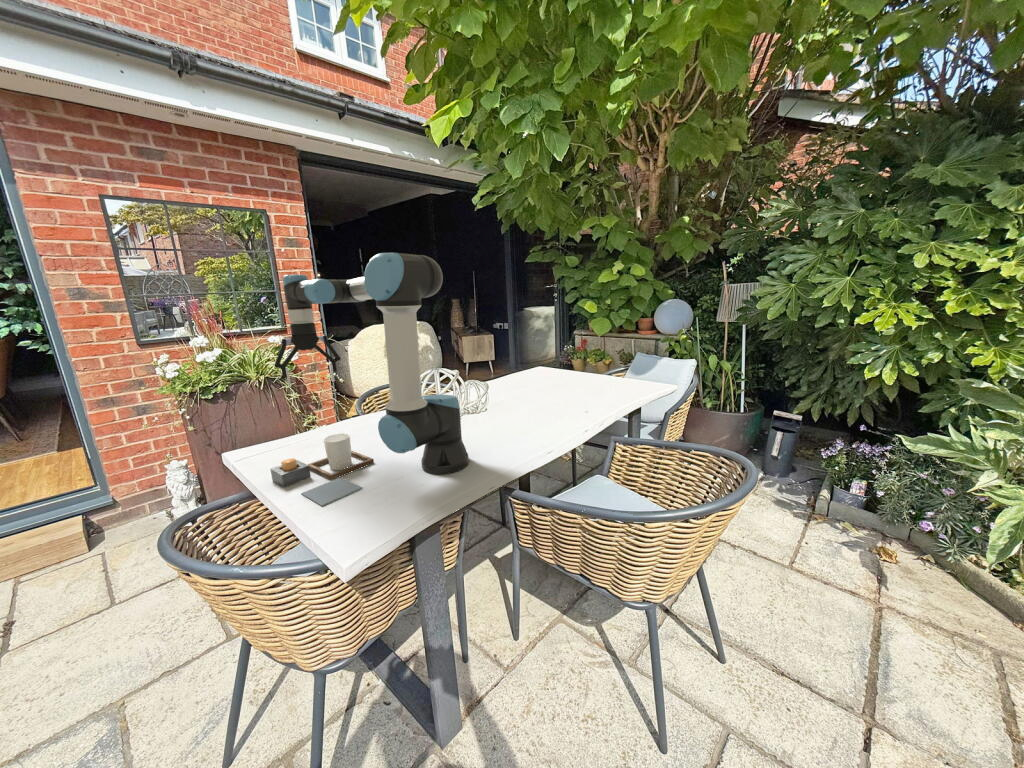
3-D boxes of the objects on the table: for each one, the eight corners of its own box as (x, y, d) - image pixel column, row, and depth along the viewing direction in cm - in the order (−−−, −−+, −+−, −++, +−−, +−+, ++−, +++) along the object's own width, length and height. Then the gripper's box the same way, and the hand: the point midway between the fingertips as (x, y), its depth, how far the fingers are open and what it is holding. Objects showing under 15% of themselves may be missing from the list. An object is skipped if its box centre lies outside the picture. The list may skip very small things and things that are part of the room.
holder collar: (373, 463, 133) (373, 458, 132) (330, 480, 121) (330, 475, 121) (349, 453, 142) (349, 449, 141) (307, 468, 130) (306, 464, 130)
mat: (362, 488, 115) (362, 487, 115) (322, 506, 106) (321, 505, 106) (341, 478, 122) (340, 477, 122) (301, 494, 113) (301, 493, 113)
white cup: (337, 473, 126) (333, 443, 124) (323, 468, 130) (318, 439, 128) (358, 463, 133) (354, 435, 130) (344, 459, 137) (340, 432, 135)
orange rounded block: (300, 472, 123) (298, 460, 122) (286, 477, 120) (284, 465, 119) (294, 469, 126) (292, 457, 125) (281, 474, 122) (278, 462, 122)
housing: (310, 477, 124) (308, 465, 123) (283, 487, 118) (281, 475, 117) (299, 471, 129) (297, 459, 128) (272, 480, 123) (270, 468, 122)
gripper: (340, 319, 143) (348, 377, 147) (258, 324, 130) (270, 387, 135) (343, 320, 136) (351, 380, 141) (258, 325, 124) (270, 391, 129)
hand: (312, 384), depth 138 cm, fingers open, 13 cm apart
